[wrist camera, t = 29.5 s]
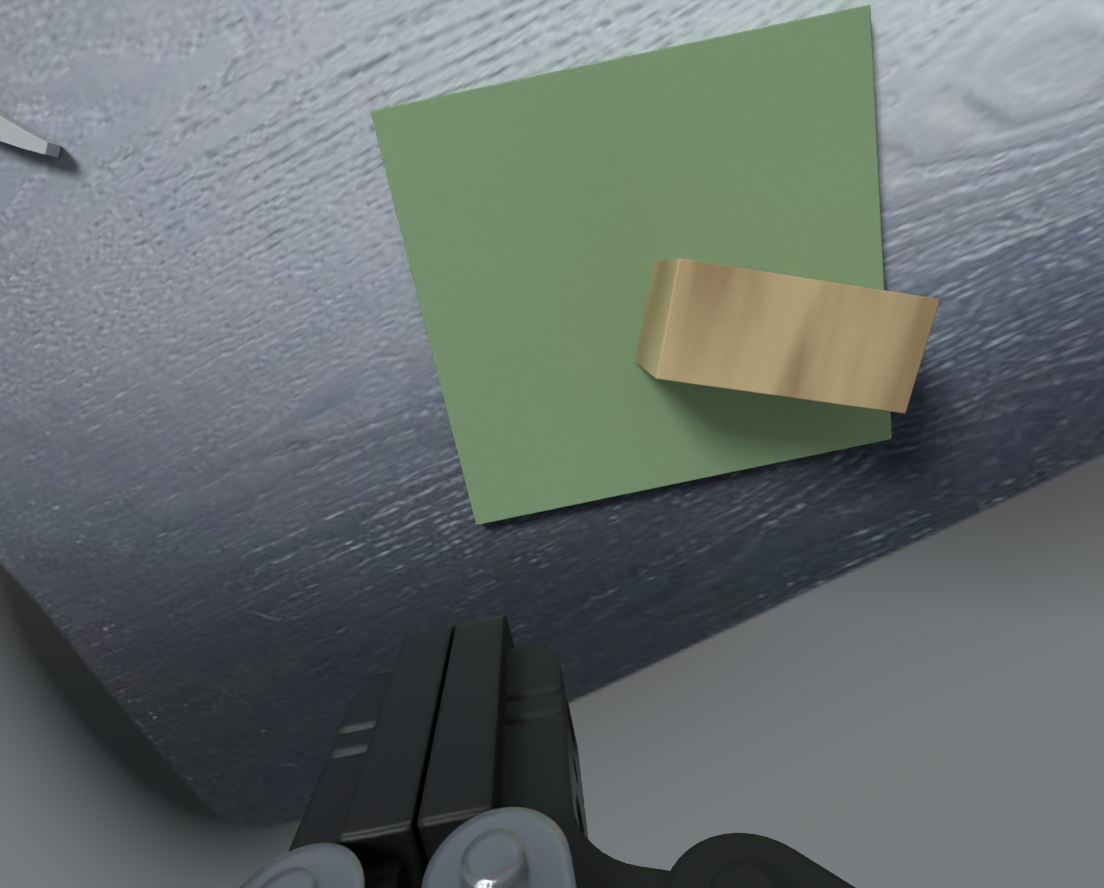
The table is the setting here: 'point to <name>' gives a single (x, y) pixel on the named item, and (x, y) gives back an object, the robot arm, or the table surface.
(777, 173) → the mat
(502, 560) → the table surface
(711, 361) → the block
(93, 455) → the table surface
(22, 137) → the pliers
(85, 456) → the table surface
